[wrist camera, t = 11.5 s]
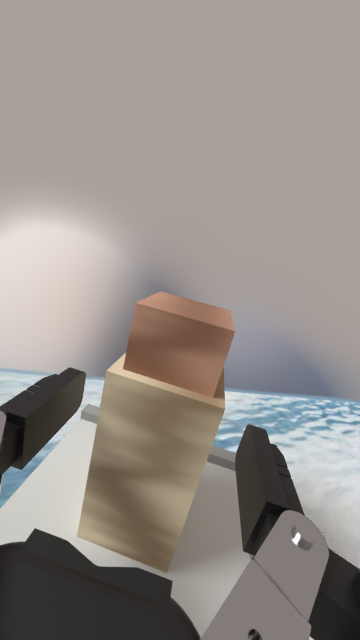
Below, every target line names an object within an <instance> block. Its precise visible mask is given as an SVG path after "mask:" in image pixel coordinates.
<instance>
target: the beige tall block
mask: <svg viewBox="0 0 360 640" xmlns="http://www.w3.org/2000/svg"><path fill="white" fill-rule="evenodd" d="M234 333H235V328H234V324H233V319H232V315H231V311H229V310H226V309H222V308H218V307H215V306H211V305H208V304H204V303H200V302H197V301H193V300H190V299H186V298H183V297H179V296H175V295H172V294H168V293H165V292H159V293H156V294H154V295H152V296H150V297H148V298H145V299H143V300H141V301H139V302H137V303H136V306H135V311H134V316H133V321H132V326H131V331H130V336H129V341H128V346H127V351H126V353H125V354H124V355H123V356H122V357H121V358H120V359H119V360H118V361H117V362H116V363H114V364H113V365H112V366H111V367H110V368H109V369H108V370H107V371H106V377H105V382H104V388H103V393H102V399H101V405H100V410H99V416H98V421H97V427H96V432H95V438H94V443H93V449H92V455H91V460H90V466H89V471H88V477H87V482H86V488H85V493H84V499H83V504H82V510H81V516H80V521H79V527H78V532H77V537H79V538H81V539H84V540H86V541H89V542H91V543H94V544H96V545H98V546H101V547H103V548H106V549H108V550H111V551H113V552H116V553H118V554H121V555H123V556H125V557H128V558H130V559H133V560H135V561H138V562H140V563H143V564H145V565H148V566H150V567H152V568H155V569H157V570H160V571H162V572H165V573H167V571H168V569H169V566H170V563H171V560H172V557H173V554H174V552H175V549H176V546H177V543H178V540H179V537H180V535H181V532H182V529H183V526H184V523H185V521H186V518H187V515H188V512H189V509H190V506H191V504H192V501H193V498H194V495H195V492H196V489H197V487H198V484H199V481H200V478H201V475H202V473H203V470H204V467H205V464H206V461H207V458H208V456H209V453H210V450H211V447H212V444H213V441H214V439H215V436H216V433H217V430H218V427H219V425H220V422H221V419H222V416H223V413H224V410H225V394H224V363H225V360H226V357H227V354H228V351H229V348H230V345H231V342H232V339H233V336H234Z"/></svg>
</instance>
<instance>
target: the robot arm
mask: <svg viewBox="0 0 360 640" xmlns="http://www.w3.org/2000/svg"><path fill="white" fill-rule="evenodd" d="M85 378H86V373H85V372H83V371H80V370H77V369H74V368H68V369H67V370H65V371H63V372H62V373H61V374H59V375H57V374H54V375H51V376H48V377H45V378H43V379H41V380H40V381H38V382H37V383H35V384H34V385H32V386H31V387H29V388H28V389H27V390H26V391H25V390H24V391H23V392H21V393H20V394H18V395H17V396H15V397H14V398H12V399H11V400H9V401H8V402H6V403H5V404H3V405H2V406H0V492H1V486H2V481H3V473H4V472H5V471H6V470H7V469H8V468H9V467H10V466H12V467H15V468H18V469H20V470H22V469H23V468H24V467H25V466H26V465H27V464H28V462H29V461H30V460H31V459H32V458H33V457H34V456H35V455H36V454H37V453H38V452H39V451H40V450H41V449H42V448H43V447H44V446H45V444H46V443H47V442H48V441H49V440H50V439H51V438H52V437H53V436H54V435H55V434H56V433H57V432H58V431H59V430H60V429H61V428H62V426H63V425H64V424H65V423H66V422H67V421H68V420H69V419H70V418H71V417H72V416H73V415H74V414H75V413H76V411H77V410H78V408H79V407H80V405H81V402H82V398H83V391H84V385H85ZM287 468H288V467H287V464H286V461H285V458H284V456H283V454H282V453H281V452H280V450H279V449H278V448H277V446H276V445H274V444H271V443H270V442H269V438H268V435H267V432H266V430H265V429H262V428H259V427H256V426H253V425H250V424H248V425H247V427H246V429H245V432H244V434H243V437H242V439H241V442H240V444H239V447H238V449H237V453H236V457H235V471H236V482H237V493H238V503H239V514H240V525H241V536H242V546H243V552H246V553H249V554H252V555H254V557H253V558H252V559H251V560H250V562H249V563H248V565H247V566H246V568H245V570H244V571H243V573H242V574H241V576H240V577H239V579H238V581H237V582H236V584H235V585H234V587H233V588H232V590H231V592H230V593H229V595H228V596H227V598H226V600H225V601H224V603H223V604H222V606H221V607H220V609H219V611H218V612H217V614H216V615H215V617H214V619H213V620H212V622H211V623H210V625H209V626H208V628H207V630H206V631H205V633H204V634H203V636H202V637H200V635H199V633H198V631H197V629H196V628H195V626H194V624H193V622H192V621H191V619H190V618H189V617H188V615H187V614H186V612H185V611H184V610H183V609H182V607H181V606H180V605H179V604H178V603H177V602H176V601H175V600H174V599H173V598H171V590H172V583H173V581H172V580H169V579H167V578H164V577H161V576H159V575H156V574H154V573H151V572H148V571H146V570H143V569H141V568H138V567H101V566H97V565H95V564H94V563H92V562H91V561H90V560H89V559H88V558H87V557H86V556H84V555H83V554H82V553H81V552H80V551H79V550H78V549H76V548H75V547H74V546H73V545H72V544H71V543H70V542H68V541H67V540H65V539H62V538H60V537H57V536H54V535H52V534H49V533H47V532H44V531H41V530H39V529H36V528H34V530H33V531H32V533H31V534H30V536H29V537H28V538H27V540H26V541H20V542H11V543H7V544H2V545H0V640H308V639H309V636H310V637H312V638H313V639H314V640H360V569H358V568H357V567H355V566H354V565H352V564H351V563H349V562H348V561H346V560H345V559H343V558H342V557H340V556H339V555H337V554H336V553H334V552H333V551H332V550H330V549H329V548H328V546H327V543H326V541H325V539H324V537H323V535H322V534H321V532H320V531H319V529H318V528H317V527H316V526H315V525H314V524H313V523H312V522H311V521H310V520H309V519H308V518H307V517H305V515H304V513H303V510H302V507H301V504H300V501H299V498H298V495H297V493H296V490H295V487H294V484H293V481H292V479H291V475H290V473H289V470H288V469H287Z"/></svg>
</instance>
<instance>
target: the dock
mask: <svg viewBox="0 0 360 640" xmlns="http://www.w3.org/2000/svg"><path fill="white" fill-rule="evenodd" d="M99 410H100V408H99V407H96V406H93V405H90V404H88V405H87V406H86V407H85V408H84V409H83V410H82V413H81V419H80V420H79V421H78V422H77V423H76V424H75V425H74V427H73V428H72V429H71V430H70V431H69V432H68V433H67V434H66V436H65V437H64V438H63V439H62V440H61V441H60V442H59V443H58V445H57V446H56V447H55V448H54V449H53V450H52V451H51V452H50V454H49V455H48V456H47V457H46V458H45V459H44V460H43V461H42V463H41V464H40V465H39V466H38V467H37V468H36V469H35V470H34V472H33V473H32V474H31V475H30V476H29V477H28V478H27V479H26V481H25V482H24V483H23V484H22V485H21V486H20V487H19V488H18V490H17V491H16V492H15V493H14V494H13V495H12V496H11V497H10V499H9V500H8V501H7V502H6V503H5V504H4V505H3V506H2V508H1V509H0V545H2V544H7V543H11V542H20V541H26V540H27V538H28V537H29V536H30V534H31V533H32V531H33V530H34V528H36V529H39V530H41V531H44V532H47V533H49V534H52V535H54V536H57V537H60V538H62V539H65V540H67V541H68V542H70V543H71V544H72V545H73V546H74V547H75V548H76V549H78V550H79V551H80V552H81V553H82V554H83V555H84V556H86V557H87V558H88V559H89V560H90V561H91V562H92V563H94V564H95V565H97V566H101V567H138V568H141V569H143V570H146V571H148V572H151V573H154V574H156V575H159V576H161V577H164V578H167V579H169V580H172V581H173V583H172V590H171V598H173V599H174V600H175V601H176V602H177V603H178V604H179V605H180V606H181V607H182V609H183V610H184V611H185V612H186V614H187V615H188V617H189V618H190V619H191V621H192V622H193V624H194V626H195V628H196V629H197V631H198V633H199V635H200V637H202V636H203V634H204V633H205V631H206V630H207V628H208V626H209V625H210V623H211V622H212V620H213V619H214V617H215V615H216V614H217V612H218V611H219V609H220V607H221V606H222V604H223V603H224V601H225V600H226V598H227V596H228V595H229V593H230V592H231V590H232V588H233V587H234V585H235V584H236V582H237V581H238V579H239V577H240V576H241V574H242V573H243V571H244V570H245V568H246V566H247V565H248V563H249V562H250V554H249V553H246V552H243V546H242V536H241V525H240V514H239V503H238V493H237V482H236V471H235V457H236V453H234V452H231V451H228V450H225V449H222V448H219V447H216V446H213V445H212V447H211V450H210V453H209V456H208V458H207V461H206V464H205V467H204V470H203V473H202V475H201V478H200V481H199V484H198V487H197V489H196V492H195V495H194V498H193V501H192V504H191V506H190V509H189V512H188V515H187V518H186V521H185V523H184V526H183V529H182V532H181V535H180V537H179V540H178V543H177V546H176V549H175V552H174V554H173V557H172V560H171V563H170V566H169V569H168V571H167V573H165V572H162V571H160V570H157V569H155V568H152V567H150V566H148V565H145V564H143V563H140V562H138V561H135V560H133V559H130V558H128V557H125V556H123V555H121V554H118V553H116V552H113V551H111V550H108V549H106V548H103V547H101V546H98V545H96V544H94V543H91V542H89V541H86V540H84V539H81V538H79V537H77V532H78V527H79V521H80V516H81V510H82V504H83V499H84V493H85V488H86V482H87V477H88V471H89V466H90V460H91V455H92V449H93V443H94V438H95V432H96V427H97V421H98V416H99Z"/></svg>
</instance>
